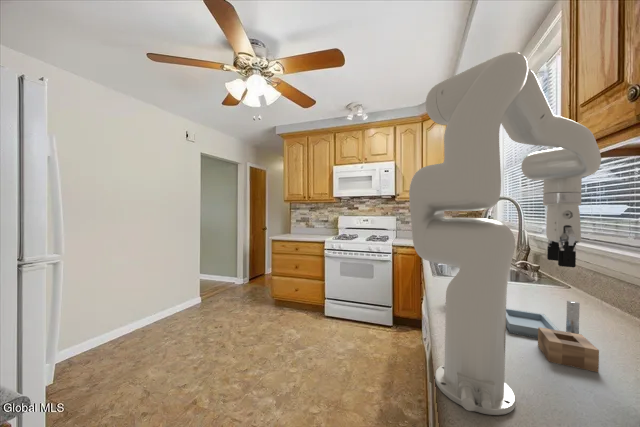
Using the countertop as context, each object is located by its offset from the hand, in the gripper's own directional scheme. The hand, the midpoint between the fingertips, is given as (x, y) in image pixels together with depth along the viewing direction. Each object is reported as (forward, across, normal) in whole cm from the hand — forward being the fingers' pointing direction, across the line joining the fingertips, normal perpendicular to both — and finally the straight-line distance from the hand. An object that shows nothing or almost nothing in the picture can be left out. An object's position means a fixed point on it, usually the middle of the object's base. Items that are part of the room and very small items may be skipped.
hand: (560, 263), depth 70 cm
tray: (+20, +2, +6) cm, 21 cm away
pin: (+20, -1, -2) cm, 20 cm away
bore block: (+20, -14, +2) cm, 24 cm away
